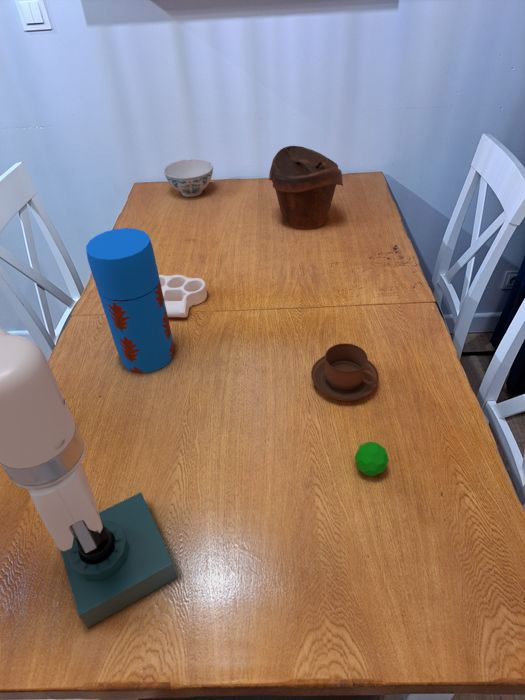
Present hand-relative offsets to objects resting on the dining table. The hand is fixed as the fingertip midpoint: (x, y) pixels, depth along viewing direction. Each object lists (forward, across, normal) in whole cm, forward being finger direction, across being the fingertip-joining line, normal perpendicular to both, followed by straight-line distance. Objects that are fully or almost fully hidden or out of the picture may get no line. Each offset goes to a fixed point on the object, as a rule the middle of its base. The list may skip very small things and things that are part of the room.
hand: (94, 539), depth 60 cm
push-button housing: (+8, 0, +1) cm, 8 cm away
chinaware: (+8, -104, +58) cm, 120 cm away
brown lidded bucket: (+8, -68, +77) cm, 103 cm away
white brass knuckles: (+8, -53, +29) cm, 61 cm away
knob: (+2, 0, 0) cm, 2 cm away
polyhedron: (+8, +6, +39) cm, 41 cm away
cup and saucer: (+8, -11, +47) cm, 49 cm away
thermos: (+8, -38, +19) cm, 44 cm away
